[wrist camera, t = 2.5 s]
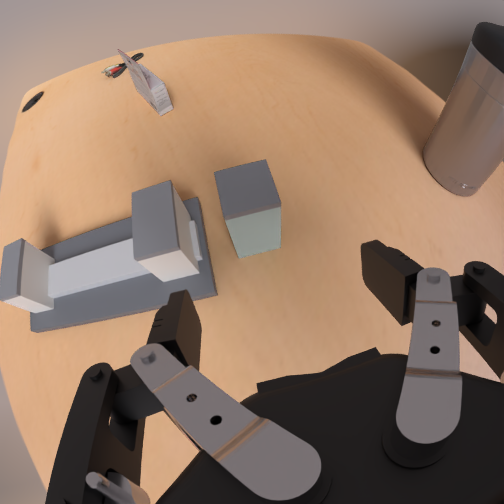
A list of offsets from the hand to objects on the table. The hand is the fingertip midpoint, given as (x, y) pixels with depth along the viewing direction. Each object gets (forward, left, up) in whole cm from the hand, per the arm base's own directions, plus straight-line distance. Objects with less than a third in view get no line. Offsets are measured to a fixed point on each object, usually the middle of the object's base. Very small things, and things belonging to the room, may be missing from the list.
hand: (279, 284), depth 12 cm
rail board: (0, -18, -12) cm, 22 cm away
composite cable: (-39, -41, -13) cm, 58 cm away
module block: (-8, -4, -12) cm, 15 cm away
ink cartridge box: (-27, -26, -13) cm, 40 cm away
